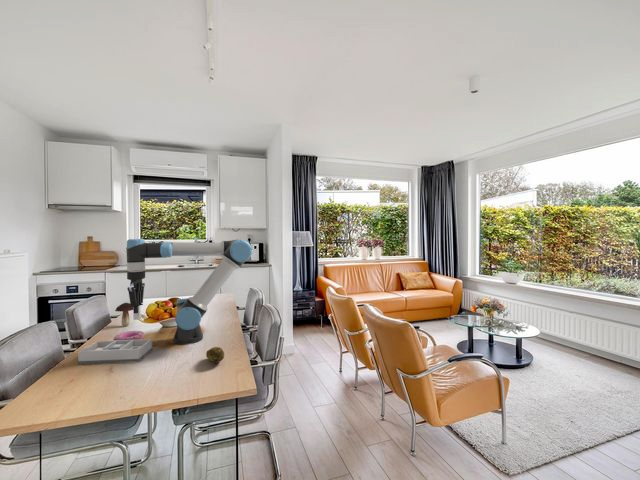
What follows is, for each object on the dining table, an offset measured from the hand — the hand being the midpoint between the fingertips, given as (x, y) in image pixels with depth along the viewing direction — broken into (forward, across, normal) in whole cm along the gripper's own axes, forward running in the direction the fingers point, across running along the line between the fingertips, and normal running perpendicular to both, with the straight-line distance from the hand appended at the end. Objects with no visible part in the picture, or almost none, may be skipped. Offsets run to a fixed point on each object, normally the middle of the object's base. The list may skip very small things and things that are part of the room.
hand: (137, 319), depth 145 cm
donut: (+18, -18, -12) cm, 28 cm away
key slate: (+14, +1, -8) cm, 17 cm away
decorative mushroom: (+17, -50, -29) cm, 60 cm away
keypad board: (+17, +1, -8) cm, 19 cm away
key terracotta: (+16, +1, -16) cm, 23 cm away
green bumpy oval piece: (+18, +15, +39) cm, 45 cm away
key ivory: (+16, +2, 0) cm, 16 cm away
